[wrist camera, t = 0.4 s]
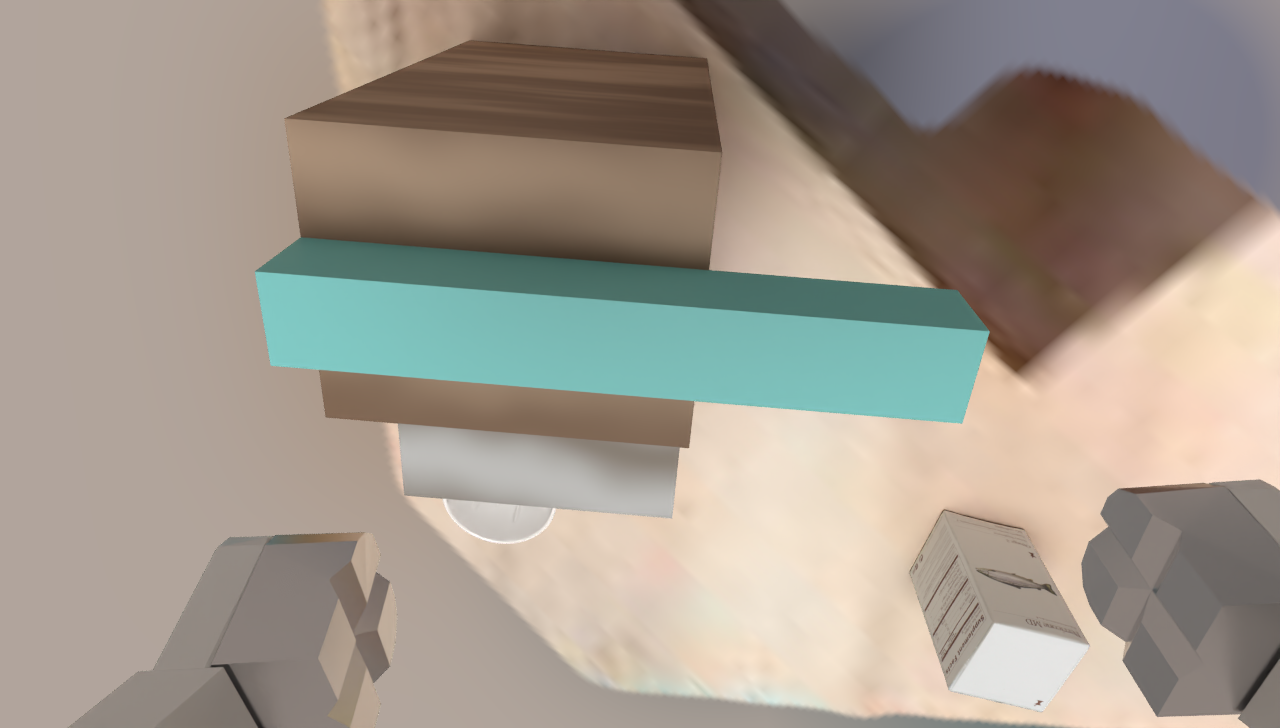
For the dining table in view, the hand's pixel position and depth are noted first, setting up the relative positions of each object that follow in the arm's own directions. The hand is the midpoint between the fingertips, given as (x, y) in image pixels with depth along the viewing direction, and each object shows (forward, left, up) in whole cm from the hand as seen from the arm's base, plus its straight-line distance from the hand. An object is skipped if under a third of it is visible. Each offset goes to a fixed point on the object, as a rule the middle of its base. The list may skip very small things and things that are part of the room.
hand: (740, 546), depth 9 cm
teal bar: (+6, -2, -20) cm, 21 cm away
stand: (+11, -7, -46) cm, 48 cm away
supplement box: (+37, +26, -47) cm, 65 cm away
